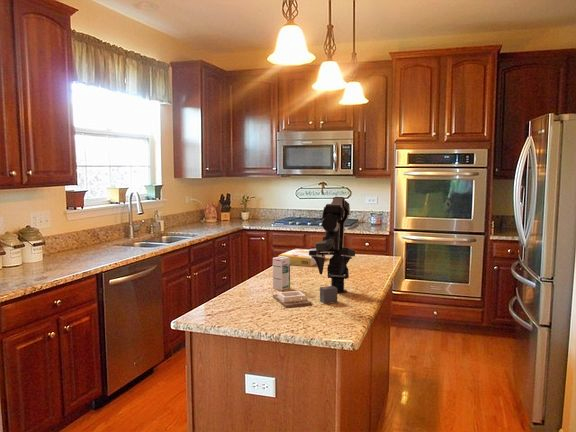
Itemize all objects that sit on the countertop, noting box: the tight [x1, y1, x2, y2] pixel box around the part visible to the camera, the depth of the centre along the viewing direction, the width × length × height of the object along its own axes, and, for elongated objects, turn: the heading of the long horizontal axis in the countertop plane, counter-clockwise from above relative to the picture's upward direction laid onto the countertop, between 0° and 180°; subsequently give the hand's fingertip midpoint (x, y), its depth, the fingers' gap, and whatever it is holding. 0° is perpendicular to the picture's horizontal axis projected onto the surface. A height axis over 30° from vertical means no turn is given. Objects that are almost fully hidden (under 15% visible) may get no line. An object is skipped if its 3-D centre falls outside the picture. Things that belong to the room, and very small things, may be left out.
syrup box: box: [272, 256, 291, 291], centre depth 212 cm, size 6×6×14 cm
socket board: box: [272, 290, 312, 309], centre depth 192 cm, size 16×11×3 cm
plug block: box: [319, 285, 338, 305], centre depth 191 cm, size 4×6×6 cm, turn 110°
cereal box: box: [277, 248, 326, 267], centre depth 278 cm, size 20×6×28 cm
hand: (330, 274), depth 183 cm, fingers open, 9 cm apart
